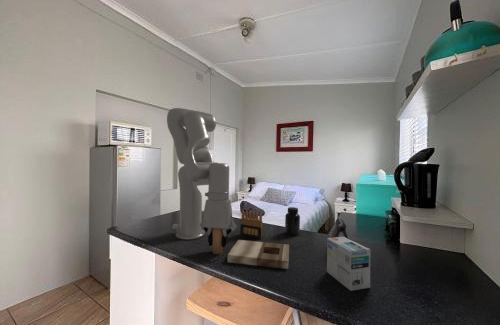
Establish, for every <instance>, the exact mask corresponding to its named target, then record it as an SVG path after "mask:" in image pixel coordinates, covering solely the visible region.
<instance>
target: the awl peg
mask: <svg viewBox="0 0 500 325" xmlns="http://www.w3.org/2000/svg"><path fill="white" fill-rule="evenodd" d="M222 237H223V230H222V229H215V228H213V237H212V247H211V248H212V249H211V253H212V254H214V255H221V254H223V253H224V248H223V247H222Z"/></svg>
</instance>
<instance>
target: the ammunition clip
mask: <svg viewBox="0 0 500 325" xmlns="http://www.w3.org/2000/svg"><path fill="white" fill-rule="evenodd" d="M240 218H241V220H240V222H241V223H240V232H239V235H240V236H244V237H248V238H252V239H256V240H262V239H263V238H264V229H263V228H264V227H263V214H262V211H260V212H258V210H256V212H255V210H254V209H253V210H251V209H249V212H248V209H246V210H244V208H242V210H241V217H240Z"/></svg>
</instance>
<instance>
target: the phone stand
mask: <svg viewBox="0 0 500 325" xmlns="http://www.w3.org/2000/svg"><path fill="white" fill-rule="evenodd" d="M340 220H341V221H340ZM341 223H342V224H341ZM340 224H341V225H340ZM346 229H347V225H346V223H345V221H344V220H343V218H340V219H339V218H337V219H336V220H335V228H333V232H332V234H331V236H330V238H336V237H340V236H339V235H340V233H342V235H343V236H342V237H346V238H347V239H349V237H348V234H347V231H346Z"/></svg>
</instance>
